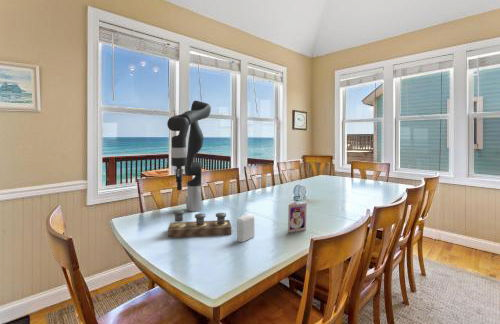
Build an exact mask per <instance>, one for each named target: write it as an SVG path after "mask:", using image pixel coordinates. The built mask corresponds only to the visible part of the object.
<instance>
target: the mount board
mask: <svg viewBox="0 0 500 324" xmlns="http://www.w3.org/2000/svg"><path fill="white" fill-rule="evenodd" d="M227 235H228V236H229V235H232V225H231V222H230V219H225V224H217V219H216V220H204V225H196V220H195V221H181V222H176V221H174V222H170V223H169V225H168V227H167V239H174V238H190V237H191V238H192V237H207V236H208V237H209V236H213V237H214V236H227Z"/></svg>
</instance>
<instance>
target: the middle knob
mask: <svg viewBox="0 0 500 324" xmlns="http://www.w3.org/2000/svg"><path fill="white" fill-rule="evenodd" d="M206 216H207V215H206V213H195V214H194V218H196V219H195V221H196V225H204V221H205V218H206Z"/></svg>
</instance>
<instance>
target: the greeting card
mask: <svg viewBox="0 0 500 324" xmlns="http://www.w3.org/2000/svg"><path fill="white" fill-rule="evenodd" d="M287 211H288V214H287V215H288V217H287V218H288V222H287V233H288V234H289V232H290V233H294V232H295V231H296V232H301V231H306V230H307V203H304V202H303V203H298V202H297V200H295V201H294V202H292V203H289V204H288V210H287Z"/></svg>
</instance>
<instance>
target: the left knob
mask: <svg viewBox="0 0 500 324" xmlns="http://www.w3.org/2000/svg"><path fill="white" fill-rule="evenodd" d="M172 214H173V215H174V222H184V217H183V216H184V214H185V210H184V209H175V210H173V211H172Z"/></svg>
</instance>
